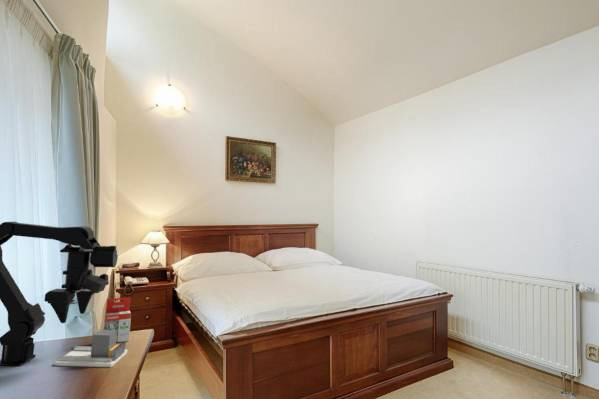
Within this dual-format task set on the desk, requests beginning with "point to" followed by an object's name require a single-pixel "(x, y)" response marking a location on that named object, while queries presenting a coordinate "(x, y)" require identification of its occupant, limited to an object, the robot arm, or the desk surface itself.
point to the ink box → (118, 318)
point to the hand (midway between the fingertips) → (73, 318)
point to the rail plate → (90, 357)
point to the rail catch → (111, 351)
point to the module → (103, 342)
